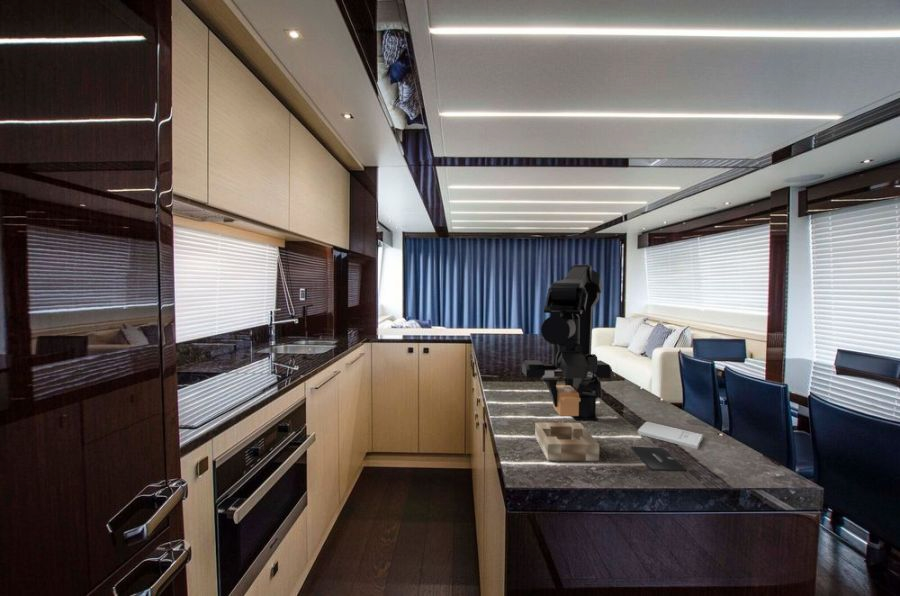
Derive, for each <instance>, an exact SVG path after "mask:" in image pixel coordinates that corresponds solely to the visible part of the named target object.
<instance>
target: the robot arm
mask: <svg viewBox="0 0 900 596" xmlns="http://www.w3.org/2000/svg"><path fill="white" fill-rule="evenodd" d="M602 291H603V280H602V276H601V274H600V273H598V272H597V271H595V270H594V269H593V267H592V265H590V264H573V265H571V266H570V270H569V272H568V273H567V275H566V276H565V278H564V279H561V280H556V281H554V282H552V283H551V285H550V287H548V290H547V294H546V299H545V302H544V303H545V304H544V309H543V313H544V314H550V316H549V317H547V318H545V320H544V321H542V322H543V323H542V325H541V327H540V332H541V336H542V338H543V339H544V340H545V341H546V342H547V343H549V344H551V346H552V358H551V363H552V364H545V363H543V362H541V360H536V359H534V360H532V359H531V360H530V359H525V360H524V361H523V362H522V364H521V369H522V370H521V372H522V373H523V375H524V376H525V377H526V378H530V379H535V378H536V379H541V380H542V382H545V384H546V386H547V389H548V392H549V395H550V397H551V400H552V404H553V403H554V406H555V407H557V388H556V386H557V383H558V379H557V378H556V377H555V374H562V375H563V377H564V386H571V387H572V388H574V389H575V390H576V391H577V392H578V393H579V397H580V398H581V400H580V402H579V416H571V417H572V418H573V420H575V421H598V420H599V417H597V416H596V414H597V412H596V411H597V400H598V398H602V383H601V381H600V379H611V378H613V369H612V366H611V365H610V364H608V363H606V362H605V361H602V359H601V360H598V356H597V355H596V354H595V353H592V344H593V343H592V338H593V315H594V314H593V311H594V307H595V306H596V305H597V304H598V302H599V300H600V294H602Z"/></svg>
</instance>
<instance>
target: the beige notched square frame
mask: <svg viewBox="0 0 900 596" xmlns="http://www.w3.org/2000/svg"><path fill="white" fill-rule="evenodd" d="M534 425H535V426H534V438H535V439H536V441H537V443H538V445H539V447H540V449H541V451H542V453H543V454H544V456H545V458H546V460H547V461H555V462H556V461H565V462H566V461H567V462H568V461H569V462H570V461H571V462H574V461H575V462H577V461H578V462H580V461H581V462H599V461H600V444H599V443H598V442H597V440H596V439H595V438H594V437H593V435H592V434H591V433H590V432H589V431H588V430H587V429H586V428H585V427H584V426H583V425H582V423H580V422H535V423H534Z"/></svg>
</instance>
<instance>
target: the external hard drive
mask: <svg viewBox="0 0 900 596" xmlns="http://www.w3.org/2000/svg"><path fill="white" fill-rule="evenodd" d="M637 434H638V435H641V436H644V437H647V438H648V437H649V438H651V439H652V438H653V439H657V440H660V441H665V442H668V443H672V444H676V445H680V446H684V447H687V448H692V449H696V450H699V447H700V445H701V442H702V441H703V439H704V434H702V433H697V432H693V431H689V430H684V429H681V428H675V427H672V426H667V425H664V424H659V423H655V422H650V421H645V422H644V423H643V424H642V425H640V427H639V428H638V429H637Z"/></svg>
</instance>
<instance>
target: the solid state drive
mask: <svg viewBox="0 0 900 596" xmlns="http://www.w3.org/2000/svg"><path fill="white" fill-rule="evenodd" d="M630 449H631V450H632V451H633V452H634V454H635V455H636V456H637V455H638V456H637V457H638V458H639V457H640V458H639V459H640V460H641V462H643V463H644V464H645V466H646V467H648V469H650V470H651V471H663V472H688V470H687V468H686V467H684V465H682V464H681V463H680V462H679V461H678V460H677V459H675V457H674V456H672V455H671V454H670V453H669V452H667V450H665V448H664V447H655V446H654V447H652V446H630Z"/></svg>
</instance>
